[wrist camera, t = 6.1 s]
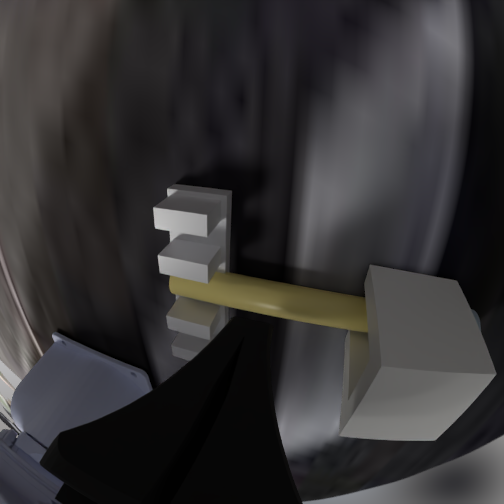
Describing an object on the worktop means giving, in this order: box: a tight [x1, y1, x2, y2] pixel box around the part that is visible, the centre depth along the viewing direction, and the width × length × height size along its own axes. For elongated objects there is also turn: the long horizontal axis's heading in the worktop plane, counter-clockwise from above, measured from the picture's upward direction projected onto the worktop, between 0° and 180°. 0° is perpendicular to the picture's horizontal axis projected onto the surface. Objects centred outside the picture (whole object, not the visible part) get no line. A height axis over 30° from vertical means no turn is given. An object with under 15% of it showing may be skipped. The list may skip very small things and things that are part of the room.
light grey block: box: [339, 265, 496, 441], centre depth 10 cm, size 4×4×5 cm
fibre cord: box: [169, 272, 481, 333], centre depth 11 cm, size 13×2×2 cm, turn 87°
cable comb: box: [153, 184, 232, 361], centre depth 13 cm, size 2×8×2 cm, turn 176°
